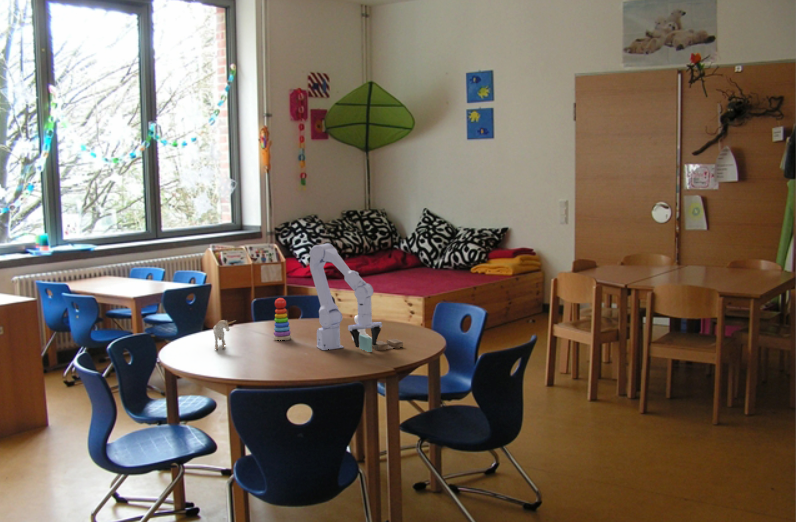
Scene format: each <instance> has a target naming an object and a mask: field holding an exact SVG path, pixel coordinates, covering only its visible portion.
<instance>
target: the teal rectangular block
mask: <svg viewBox="0 0 796 522" xmlns="http://www.w3.org/2000/svg"><path fill="white" fill-rule="evenodd" d="M370 337H371V336H370ZM370 337H367V336H365V335H359V350H361V349H362V351H363V350H365V351H367V352H372V353H373V348H372V338H370ZM365 351H364V352H365ZM367 352H366V353H367Z"/></svg>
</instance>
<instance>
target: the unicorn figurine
mask: <svg viewBox="0 0 796 522" xmlns="http://www.w3.org/2000/svg"><path fill="white" fill-rule="evenodd" d="M235 322H237V320H233V321H228V320H227V319H226V320H225V319H223V320H221V319H220V320H219V321H218V322H217V323H216V324H215V325H214V326H213V328H212V329H213V334H214V343H215V345H214V350H215V349H216V350H217V349H218V350H219V344H218V341H221V345H222V349H223V348H225V349H226V346H225V347H224V345H226V340H225V335H226V334H225V332H230V327H229V325H230V324H233V323H235ZM224 329H225V331H224ZM216 350H215V351H216ZM218 350H217V351H218Z"/></svg>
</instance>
